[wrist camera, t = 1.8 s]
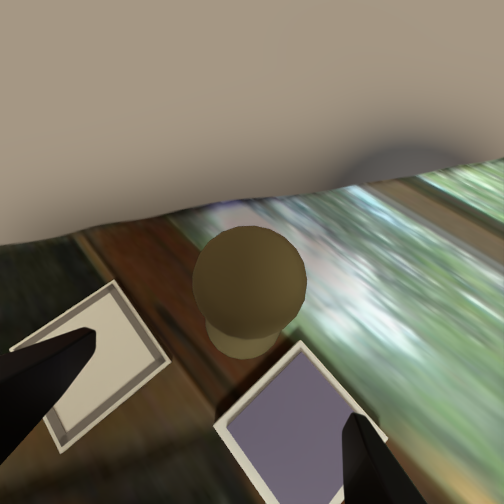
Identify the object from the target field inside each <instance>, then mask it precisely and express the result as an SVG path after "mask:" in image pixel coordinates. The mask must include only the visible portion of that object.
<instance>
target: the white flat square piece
mask: <svg viewBox="0 0 504 504" xmlns="http://www.w3.org/2000/svg"><path fill="white" fill-rule="evenodd" d="M81 327H87V328H91V329H94V330H95V331H96V350H95V353H94V354H93V356H92V357H91V359H90V360H89V361H88V363H87V364H86V365H85V367H84V368H83V369H82V371H81V372H80V373H79V375H78V376H77V377H76V379H75V380H74V381H73V383H72V384H71V385H70V387H69V388H68V389H67V391H66V392H65V393H64V394H63V396H62V397H61V398H60V399H59V400H58V402H57V403H56V404H55V405H54V406H53V407H52V408H51V409H50V411H49V412H48V413H47V414H46V415H45V416H44V417H43V420H44V422H45V424H46V426H47V428H48V430H49V432H50V434H51V436H52V438H53V440H54V442H55V444H56V446H57V448H58V450H59V452H60V454H61V453H63V452H64V451H66V450H67V449H68V448H69V447H70V446H72V445H73V444H74V443H75V442H76V441H78V440H79V439H80V438H81V437H82V436H84V435H85V434H86V433H87V432H88V431H90V430H91V429H92V428H93V427H94V426H95V425H97V424H98V423H99V422H100V421H101V420H103V419H104V418H105V417H106V416H107V415H109V414H110V413H111V412H112V411H113V410H115V409H116V408H117V407H118V406H119V405H121V404H122V403H123V402H124V401H125V400H127V399H128V398H129V397H130V396H131V395H133V394H134V393H135V392H136V391H137V390H139V389H140V388H141V387H142V386H143V385H145V384H146V383H147V382H148V381H149V380H151V379H152V378H153V377H154V376H155V375H156V374H158V373H159V372H160V371H161V370H162V369H164V368H165V367H166V366H167V365H168V364H170V363H171V360H170V359H169V357H168V356H167V354H166V353H165V351H164V350H163V349H162V347H161V346H160V344H159V343H158V341H157V340H156V338H155V337H154V336H153V334H152V333H151V331H150V330H149V328H148V327H147V325H146V324H145V323H144V321H143V320H142V318H141V317H140V315H139V314H138V312H137V311H136V310H135V308H134V307H133V305H132V304H131V302H130V301H129V300H128V298H127V297H126V295H125V294H124V292H123V291H122V289H121V288H120V287H119V285H118V284H117V282H116V281H115V280H112V281H111V282H109V283H108V284H106V285H105V286H103V287H102V288H100V289H99V290H97V291H96V292H94V293H93V294H91V295H90V296H88V297H87V298H85V299H84V300H82V301H81V302H79V303H78V304H76V305H75V306H73V307H72V308H70V309H69V310H67V311H66V312H64V313H63V314H61V315H60V316H58V317H57V318H55V319H54V320H52V321H51V322H49V323H48V324H46V325H45V326H43V327H42V328H40V329H39V330H37V331H36V332H34V333H33V334H31V335H30V336H28V337H27V338H25V339H24V340H22V341H21V342H19V343H18V344H16V345H15V346H13V347H12V348H10V349H9V350H10V352H12V351H15V350H18V349H21V348H24V347H27V346H30V345H32V344H35V343H38V342H41V341H44V340H47V339H50V338H52V337H55V336H58V335H61V334H64V333H67V332H70V331H73V330H75V329H78V328H81Z"/></svg>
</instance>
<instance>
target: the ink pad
mask: <svg viewBox="0 0 504 504" xmlns="http://www.w3.org/2000/svg"><path fill="white" fill-rule="evenodd" d="M352 412H356V413H359V414H362V415H365V416H366V417H367V418H368V420H369V421H370V422H371V424H372V425H373V427H374V428H375V430H376V431H377V432H378V434H379V435H380V437H381V438H382V440H383V441H384V442H386V441H387V440H388V437H387V436H386V435H385V434H384V433H383V432H382V431H381V430H380V428H379V427H378V426H377V425H376V424H375V423H374V422H373V421H372V419H371V418H370V417H369V416H368V415H367V414H366V413H365V412H364V410H363V409H362V408H361V407H360V406H359V405H358V404H357V403H356V401H355V400H354V399H353V398H352V397H351V396H350V395H349V394H348V392H347V391H346V390H345V389H344V388H343V387H342V386H341V385H340V383H339V382H338V381H337V380H336V379H335V378H334V377H333V376H332V374H331V373H330V372H329V371H328V370H327V369H326V368H325V367H324V365H323V364H322V363H321V362H320V361H319V360H318V359H317V358H316V356H315V355H314V354H313V353H312V352H311V351H310V350H309V349H308V347H307V346H306V345H305V344H304V343H303V342H302V341H301V340H299V341H297V342H296V343H295V344H294V345H293V346H292V347H291V348H290V349H289V350H288V351H287V352H286V353H285V354H284V355H283V356H282V357H281V358H280V359H279V360H278V361H277V362H276V363H275V364H274V365H273V366H272V367H271V368H270V369H269V370H268V371H267V372H266V373H265V374H264V375H263V376H262V377H261V378H260V379H259V380H257V381H256V382H255V383H254V384H253V385H252V386H251V387H250V388H249V389H248V390H247V391H246V392H245V393H244V394H243V395H242V396H241V397H240V398H239V399H238V400H237V401H236V402H235V403H234V404H233V405H232V406H231V407H230V408H229V409H228V410H227V411H226V412H225V413H224V414H223V415H222V416H221V417H220V418H219V419H218V420H217V421H216V422H215V423H214V425H213V427H214V428H215V429H216V431H217V432H218V434H219V435H220V437H221V438H222V440H223V441H224V442H225V444H226V445H227V447H228V448H229V450H230V451H231V453H232V454H233V456H234V457H235V458H236V460H237V461H238V463H239V464H240V466H241V467H242V469H243V470H244V471H245V473H246V474H247V476H248V477H249V479H250V480H251V482H252V483H253V485H254V486H255V487H256V489H257V490H258V492H259V493H260V495H261V496H262V498H263V499H264V500H265V502H266V503H267V504H341V502H342V501H343V500H344V490H343V463H342V430H343V427H344V425H345V423H346V421H347V419H348V418H349V416H350V414H351V413H352Z"/></svg>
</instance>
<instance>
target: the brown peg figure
mask: <svg viewBox="0 0 504 504" xmlns="http://www.w3.org/2000/svg"><path fill="white" fill-rule="evenodd" d="M306 286H307V277H306V271H305V266H304V262H303V260H302V258H301V257H300V255H299V253H298V251H297V249H296V248H295V247H294V246H293V245H292V244H291V243H290V242H289V241H288V240H287V239H286V238H285V237H283V236H282V235H280V234H278V233H276V232H274V231H272V230H270V229H267V228H262V227H258V226H239V227H235V228H232V229H229V230H226V231H223V232H222V233H220V234H219V235H217V236H216V237H215V238H213V239H212V240H210V241H209V242H208V243H207V245H206V246H205V247H204V249H203V250H202V251H201V253H200V254H199V256H198V259H197V262H196V265H195V268H194V271H193V294H194V297H195V300H196V303H197V306H198V309H199V310H200V312H201V313H202V314H203V316H204V317H205V319H206V330H207V333H208V336H209V338H210V340H211V342H212V343H213V344H214V345H215V347H216V348H217V349H218V350H219V351H221V352H222V353H224V354H225V355H227V356H229V357H233V358H237V359H251V358H255V357H257V356H259V355H262V354H264V353H265V352H266V351H268V350H269V349H270V348H271V347H272V346H273V345H274V344H275V342H276V340H277V338H278V336H279V334H280V331H281V330H282V329H284V328H285V327H286V326H287V325H288V324H289V323H290V322H291V321H292V320H293V319H294V318H295V317H296V316H297V314H298V312H299V310H300V308H301V306H302V304H303V302H304V300H305V293H306Z"/></svg>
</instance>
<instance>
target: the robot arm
mask: <svg viewBox="0 0 504 504" xmlns="http://www.w3.org/2000/svg"><path fill="white" fill-rule="evenodd" d="M95 350H96V331H95V330H94V329H91V328H87V327H81V328H78V329H75V330H73V331H70V332H67V333H64V334H61V335H58V336H55V337H52V338H50V339H47V340H44V341H41V342H38V343H35V344H32V345H30V346H27V347H24V348H21V349H18V350H15V351H12V352H10V353H7V354H4V355H1V356H0V465H1V464H2V463H3V462H4V461H5V460H6V458H7V457H8V456H9V455H10V454H11V453H12V452H13V451H14V450H15V448H16V447H17V446H18V445H19V444H20V443H21V442H22V441H23V440H24V438H25V437H26V436H27V435H28V434H29V433H30V432H31V431H32V429H33V428H34V427H35V426H36V425H37V424H38V423H39V422H40V421H41V419H42V418H43V417H44V416H45V415H46V414H47V413H48V412H49V411H50V409H51V408H52V407H53V406H54V405H55V404H56V403H57V402H58V400H59V399H60V398H61V397H62V396H63V394H64V393H65V392H66V391H67V389H68V388H69V387H70V385H71V384H72V383H73V381H74V380H75V379H76V377H77V376H78V375H79V373H80V372H81V371H82V369H83V368H84V367H85V365H86V364H87V363H88V361H89V360H90V359H91V357H92V356H93V354H94V353H95ZM342 463H343V490H344V500H345V504H427V502H426V501H425V499H424V498H423V497H422V495H421V494H420V492H419V491H418V489H417V488H416V487H415V485H414V484H413V482H412V481H411V479H410V478H409V477H408V475H407V474H406V472H405V471H404V469H403V468H402V467H401V465H400V464H399V462H398V461H397V460H396V458H395V457H394V455H393V454H392V452H391V451H390V450H389V448H388V447H387V445H386V444H385V442H384V441H383V440H382V438H381V437H380V435H379V434H378V432H377V431H376V430H375V428H374V427H373V425H372V424H371V422H370V421H369V420H368V418H367V417H366V416H365V415H362V414H359V413H356V412H352V413H351V414H350V416H349V418H348V419H347V421H346V423H345V425H344V427H343V430H342Z"/></svg>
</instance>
